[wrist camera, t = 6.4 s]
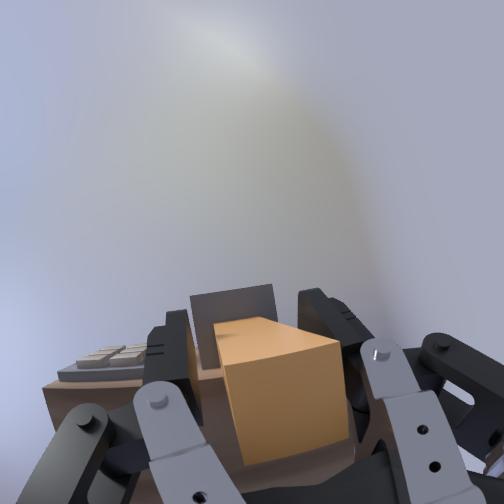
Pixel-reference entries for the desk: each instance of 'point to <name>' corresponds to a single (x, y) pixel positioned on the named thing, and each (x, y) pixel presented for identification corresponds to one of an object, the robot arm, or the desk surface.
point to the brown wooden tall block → (214, 430)
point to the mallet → (271, 374)
